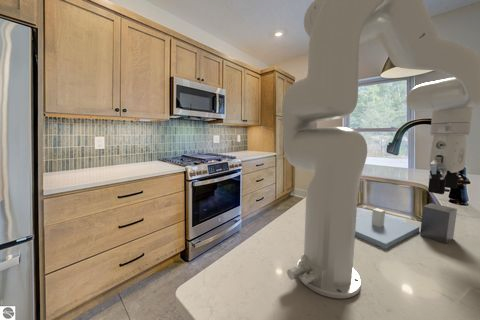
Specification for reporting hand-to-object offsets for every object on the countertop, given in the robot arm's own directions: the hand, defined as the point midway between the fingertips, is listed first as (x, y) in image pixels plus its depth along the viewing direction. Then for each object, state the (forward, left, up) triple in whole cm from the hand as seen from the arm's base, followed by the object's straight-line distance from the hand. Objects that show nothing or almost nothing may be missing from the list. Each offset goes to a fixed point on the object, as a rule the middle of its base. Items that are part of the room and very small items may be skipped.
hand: (442, 190), depth 57 cm
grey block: (-1, 0, -14) cm, 14 cm away
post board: (-11, +11, -14) cm, 21 cm away
